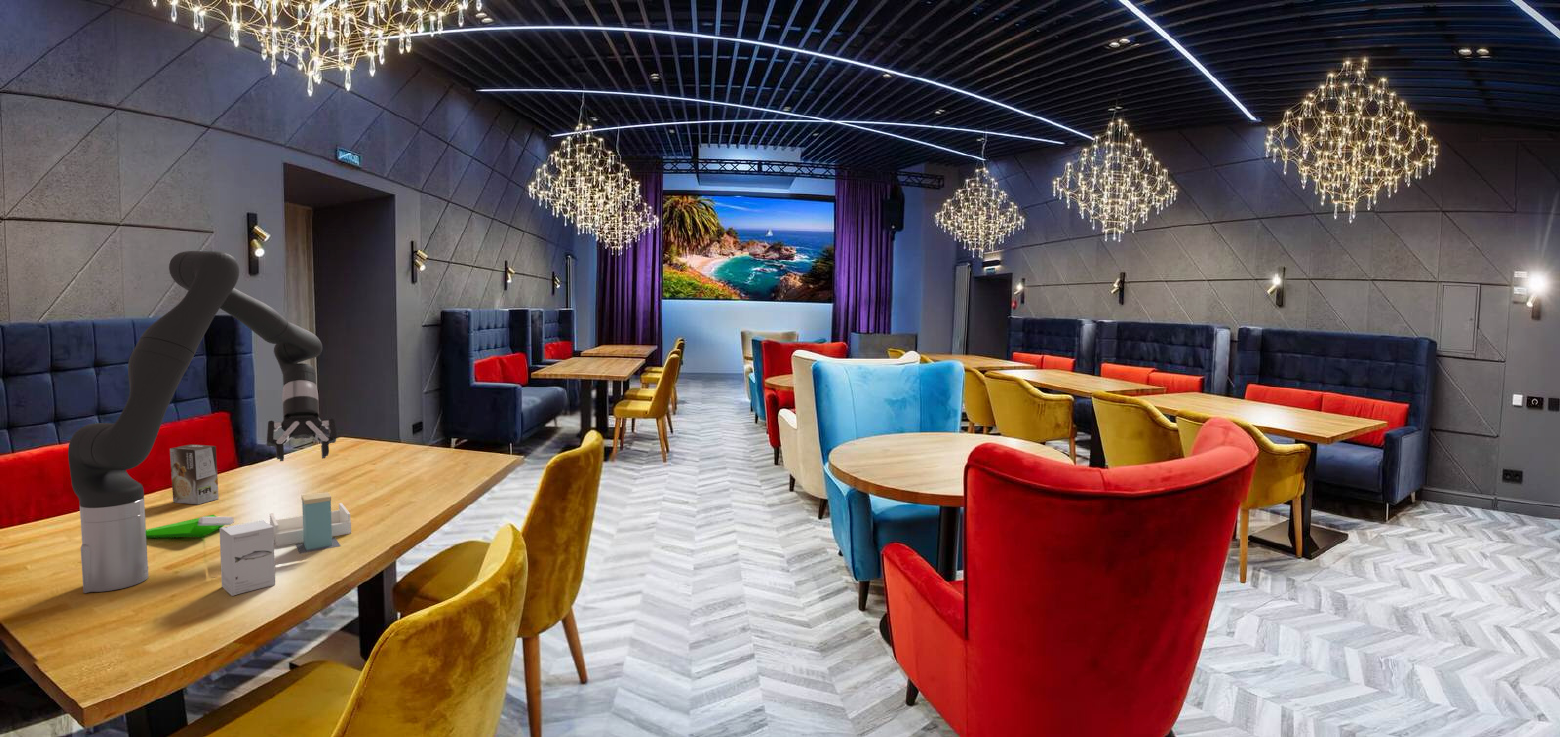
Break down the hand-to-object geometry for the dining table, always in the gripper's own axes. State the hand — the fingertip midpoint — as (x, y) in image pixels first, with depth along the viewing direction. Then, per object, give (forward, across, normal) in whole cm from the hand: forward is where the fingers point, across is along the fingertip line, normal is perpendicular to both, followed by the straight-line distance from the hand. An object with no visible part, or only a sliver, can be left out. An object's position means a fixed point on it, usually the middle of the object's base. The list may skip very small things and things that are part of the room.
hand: (303, 458), depth 163 cm
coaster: (+22, +2, +3) cm, 23 cm away
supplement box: (+34, -11, -12) cm, 37 cm away
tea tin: (+22, +2, +2) cm, 22 cm away
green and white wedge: (+7, -25, +26) cm, 37 cm away
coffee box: (-14, -21, +56) cm, 61 cm away
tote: (+16, +2, +12) cm, 20 cm away
